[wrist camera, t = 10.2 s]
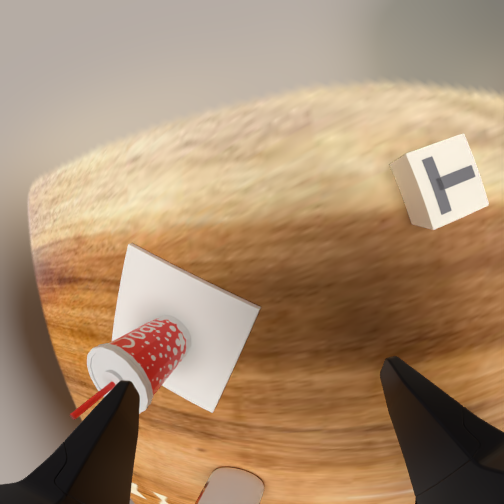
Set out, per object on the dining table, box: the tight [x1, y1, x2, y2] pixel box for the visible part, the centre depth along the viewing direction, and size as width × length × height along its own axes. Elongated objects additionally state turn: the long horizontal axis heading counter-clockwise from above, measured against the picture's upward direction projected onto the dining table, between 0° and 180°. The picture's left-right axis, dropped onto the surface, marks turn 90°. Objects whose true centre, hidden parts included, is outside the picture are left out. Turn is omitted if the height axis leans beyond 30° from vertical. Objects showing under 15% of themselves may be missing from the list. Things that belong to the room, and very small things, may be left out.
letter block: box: [389, 133, 489, 230], centre depth 16 cm, size 5×5×5 cm
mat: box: [112, 243, 261, 413], centre depth 27 cm, size 14×14×1 cm
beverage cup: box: [70, 315, 191, 420], centre depth 20 cm, size 6×6×14 cm
